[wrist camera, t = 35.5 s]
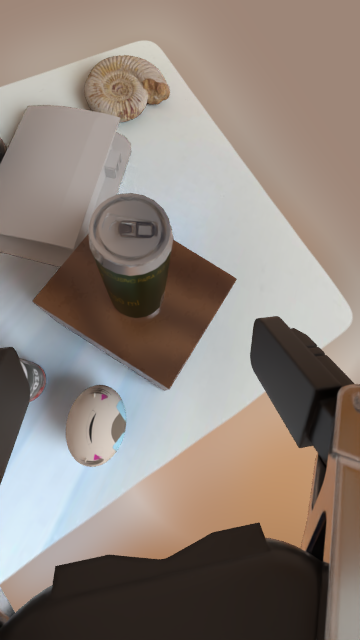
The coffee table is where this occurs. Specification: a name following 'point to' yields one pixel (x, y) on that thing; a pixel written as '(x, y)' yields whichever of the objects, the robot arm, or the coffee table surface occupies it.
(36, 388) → the pill bottle
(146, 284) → the beer can
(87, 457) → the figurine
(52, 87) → the coffee table surface
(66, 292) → the lid
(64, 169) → the white stadium model
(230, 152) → the coffee table surface
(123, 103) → the fossil
